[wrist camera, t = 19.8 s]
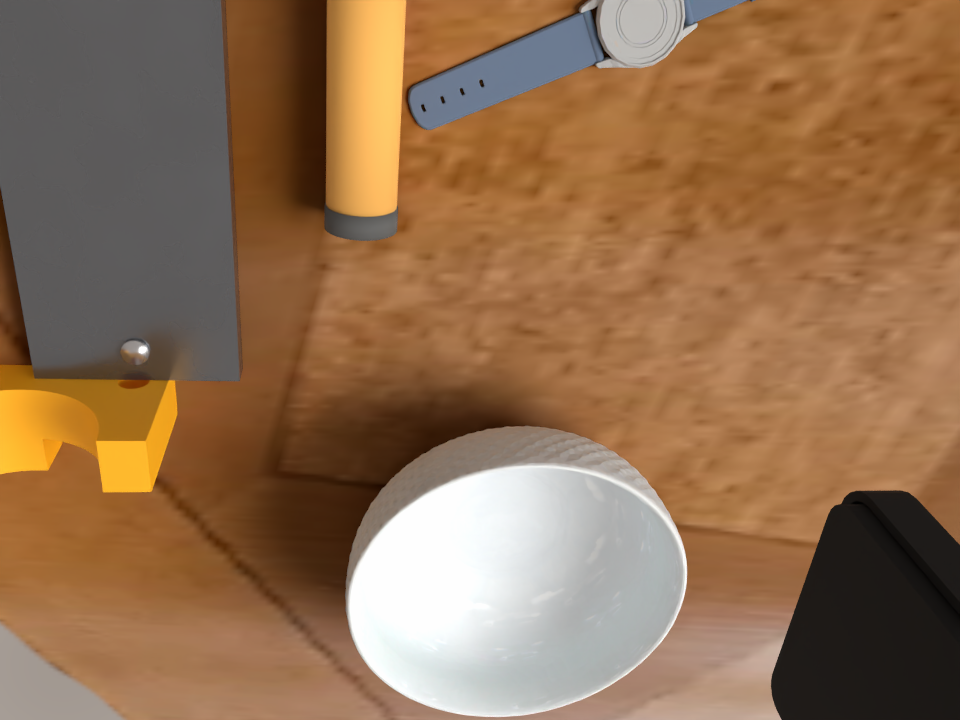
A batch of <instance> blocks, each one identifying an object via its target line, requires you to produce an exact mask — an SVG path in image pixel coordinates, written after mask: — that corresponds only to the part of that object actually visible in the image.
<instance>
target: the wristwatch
mask: <svg viewBox="0 0 960 720" xmlns="http://www.w3.org/2000/svg"><path fill="white" fill-rule="evenodd" d="M745 1H747V0H588V1H587V2H585V3H584V4H583V5H582V6H580V8H579V13H577V14H575V15H573V16H570V17H568V18H566V19H563V20H561V21H559V22H557V23H554V24H552V25H550V26H548V27H545V28H543V29H541V30H538V31H536V32H534V33H532V34H529V35H527V36H525V37H522V38H520V39H518V40H516V41H513V42H511V43H509V44H506V45H504V46H502V47H500V48H497V49H495V50H493V51H490V52H488V53H486V54H484V55H481V56H479V57H477V58H474V59H472V60H470V61H468V62H465V63H463V64H461V65H458V66H456V67H454V68H452V69H449V70H447V71H445V72H443V73H440V74H438V75H436V76H433V77H431V78H429V79H427V80H424V81H422V82H420V83H417V84H415V85H413V86H412V87H411V88H410V90H409V93H408V103H409V106H410V110H411V113H412V115H413V117H414V118H415V120H416V122H417V124H418V125H420V126H421V127H422V128H424V129H426V130H431V129H434V128H437V127H439V126H442V125H444V124H447V123H449V122H452V121H454V120H457V119H459V118H462V117H464V116H467V115H469V114H472V113H474V112H476V111H479V110H481V109H484V108H486V107H489V106H491V105H494V104H496V103H499V102H501V101H504V100H506V99H509V98H511V97H514V96H516V95H519V94H521V93H524V92H526V91H529V90H531V89H534V88H536V87H539V86H541V85H544V84H546V83H549V82H551V81H554V80H556V79H559V78H561V77H564V76H566V75H569V74H571V73H574V72H576V71H579V70H581V69H584V68H586V67H589V66H591V65H594V64H595V66H597V67H598V68H610V67H625V68H643V67H647V66H651V65H654V64H656V63H657V62H659V61H661V60H662V59H664V58H665V57H666V56H667V55H668V54H669V53H670V52H671V51H672V50H673V48H674V47H675V46H676V44H677V43H678V42H679V41H681V40H682V39H683V38H684V37H685V36H686V35H688V34H689V33H690V32H691V31H693V30H694V29H695V28H696V27H697V21H699V20H702V19H704V18H706V17H709V16H711V15H714V14H716V13H718V12H721V11H723V10H726V9H728V8H730V7H733V6H735V5H737V4H740V3H742V2H745ZM750 1H751V2H752V1H755V0H750ZM595 7H597V11H596V26H597V30H596V27H595V24H594V20H593V17H592V13H591V9H593V8H595ZM597 33H598V34H597ZM599 39H600V41H601V44H602V46H603V48H604V50H605V51H606V52H607V53H608V54H609V55H610V57H606V58H604V55H603V51H602V48H601V44H600V41H599ZM479 80H482V81H483V84H484V86H482V87H481V86H480V83H479ZM460 88H463V91H464V94H461V92H460ZM441 96H443V98H444V100H445V102H444V103H442V102H441V99H440V97H441ZM422 104H424V107H425V109H426V110H425V111H423V110H422V108H421V105H422Z"/></svg>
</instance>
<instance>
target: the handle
mask: <svg viewBox="0 0 960 720" xmlns="http://www.w3.org/2000/svg"><path fill="white" fill-rule="evenodd" d="M405 15H406V0H327V94H326V202H325V230H326V231H327V232H329V233H330V234H332V235H334V236H337V237H340V238H345V239H350V240H361V241H370V240H380V239H385V238H388V237H391V236H393V235H394V234H395V233H396V232H397V218H398V206H397V191H398V169H399V147H400V125H401V103H402V81H403V59H404V37H405Z"/></svg>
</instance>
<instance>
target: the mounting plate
mask: <svg viewBox="0 0 960 720" xmlns="http://www.w3.org/2000/svg"><path fill="white" fill-rule="evenodd" d="M0 187H1V193H2V199H3V204H4V210H5V215H6V221H7V227H8V232H9V238H10V244H11V249H12V255H13V260H14V266H15V272H16V277H17V283H18V288H19V294H20V300H21V305H22V311H23V317H24V322H25V328H26V333H27V339H28V345H29V350H30V356H31V361H32V367H33V373H34V378H35V379H106V380H187V381H240V378H241V373H242V369H243V367H242V346H241V325H240V304H239V282H238V261H237V240H236V218H235V197H234V176H233V155H232V133H231V112H230V91H229V70H228V48H227V27H226V6H225V0H0Z"/></svg>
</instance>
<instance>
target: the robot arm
mask: <svg viewBox="0 0 960 720" xmlns="http://www.w3.org/2000/svg"><path fill="white" fill-rule="evenodd" d="M771 689H772V697H773V701H774V704H775V707H776V709H777V711H778V713H779V715H780V717H781V719H782V720H960V545H959V544H958V543H957V542H956V541H955V540H954V538H953V537H952V536H951V535H950V534H949V533H948V532H947V531H946V530H945V529H944V528H943V527H942V526H941V525H940V523H939V522H938V521H937V520H936V519H935V518H934V517H933V516H932V515H931V514H930V513H929V512H928V511H927V510H926V508H925V507H924V506H923V505H922V504H921V503H920V502H919V501H918V500H917V499H916V498H915V497H914V496H912V495H911V494H910V493H908V492H904V491H855V492H851V493H849V494H848V495H847V496H846V497H845V498H844V500H843V502H842V504H840V505H835V506H834V507H833V508H832V509H831V511H830V513H829V515H828V517H827V520H826V523H825V526H824V528H823V531H822V534H821V537H820V540H819V543H818V546H817V548H816V551H815V554H814V557H813V560H812V563H811V566H810V568H809V571H808V574H807V577H806V580H805V583H804V585H803V588H802V591H801V594H800V597H799V600H798V603H797V605H796V608H795V611H794V614H793V617H792V620H791V623H790V625H789V628H788V631H787V634H786V637H785V640H784V643H783V645H782V648H781V651H780V654H779V657H778V660H777V662H776V665H775V668H774V671H773V674H772V679H771Z"/></svg>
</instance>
